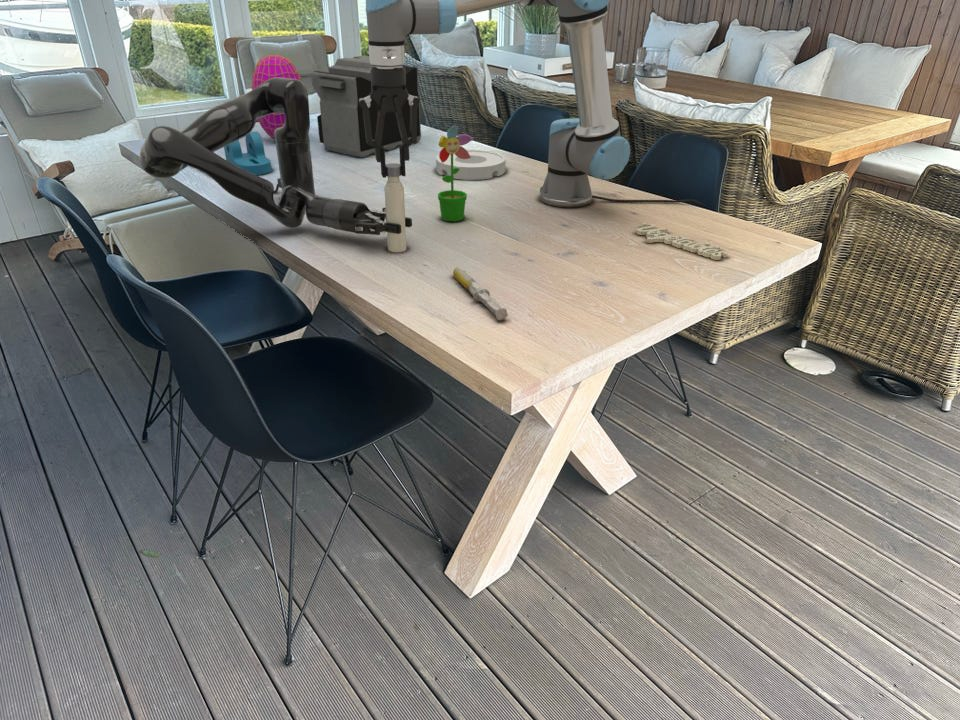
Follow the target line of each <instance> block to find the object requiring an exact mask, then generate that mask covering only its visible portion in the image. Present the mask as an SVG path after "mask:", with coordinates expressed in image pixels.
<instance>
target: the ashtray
mask: <svg viewBox="0 0 960 720" xmlns="http://www.w3.org/2000/svg"><path fill="white" fill-rule="evenodd" d="M466 150H467V151H468V153H469V155H470V156H471V158H469V159H460V158H458V157H457V156H456V155H455V154H453V169H455V168H459V171H458V172H457V173H456V174H453V180H454V179H456V180H465V181H480V180H488V179H492V178H493V177H500V176H503V174H505V173H506V159H507V158H506V157H505V155H503V154H502V153H498V152H495V151H492V150H484V149H466ZM435 163H436V164H435V168H436V169H435V170H436V173H437V174H438V175H440V176H446V175H450V176H451V154H450V155H449V157H448V159H447V160H446V161H445V162H443V163H442V162H441V160H440V157H439V154H437V155H436V157H435Z"/></svg>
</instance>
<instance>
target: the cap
mask: <svg viewBox="0 0 960 720" xmlns="http://www.w3.org/2000/svg"><path fill="white" fill-rule="evenodd" d="M385 164H386V177H387V178H388V177H398V176H399V177H402V170H401V164H400V163H394V162H391V163H385Z"/></svg>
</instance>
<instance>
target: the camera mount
mask: <svg viewBox="0 0 960 720" xmlns="http://www.w3.org/2000/svg"><path fill="white" fill-rule="evenodd" d="M244 138H245V146H246V152H243V151H242V150H243V149H242V146H241V142H240V139H239V140H238V141H236V142H234V143H231V144H229V145H227V146H225V147H223V149H224V150H223V151H224V156H225V160H226V161H228V162H230V163H232V164H233V165H235V166H237V167H239V168H241V169H243V170H245V171H248V172H250V173H252V174H255V175H257V176H260V175H265V174H268V173H271V172H272V164H271V159H270V158H268V157H267V156H266V153H265V145H264V141H263V139H262V136H261V134H260V132H258V131H251V132H250V133H249V134H248V135H247V136H245V137H244Z"/></svg>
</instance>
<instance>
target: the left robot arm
mask: <svg viewBox="0 0 960 720" xmlns="http://www.w3.org/2000/svg"><path fill="white" fill-rule="evenodd" d="M301 81H302V80H301ZM301 81H299V80H297V79H289V78H280V77H275V78H271V79H269V80H267V81H265V82H264V83H262V84H261V85H259V86H258V87H256V88H255V89H253V90H252V89H251V90H250V91H248V92H246V93H244V94H243V93H242V94H241V95H239V96H236V97H233V98H232V99H229V100H227V101H224V102H222V103H219V104H217V105H215V106H213V107H212V108H210V109H208V110H206V111H205V112H204V113H202V114H201V115H200V116H198V117H197V118H196V119H195V120H193V122H192V123H191V124H189V125H188V126H187V127H185V129H183V130H182V131H180V130H178V129H176V128H174V127H170V126H166V125H159V126H155V127H153V128H152V129H151V130H150V131H149V132H148V135H146V136H147V137H146V138H145V140H144V142H143V144H142V146H141V148H140V151H139V163H140V166H141V168H142V169H143V171H145V173H146V174H148V175H149V176H152V177H154V178H159V179H168V178H171V177H172V178H173V177H175V176H177V175H178V174H180V172H182V171H184V170H185V169H186V168H188V167H192V168H194V169H197V170H198V171H201V172H203V173H204V174H206V175H207V176H208V177H210V178H211V179H212V180H213V181H214V182H215V183H217V184H218V186H220V187H221V188H222V189H223V190H224V191H225V192H227V193H228V194H229V195H231V196H233V197H235V198H236V199H238V200H240V201H243V202H245V203H247V204H250V205H252V206H255V207H257V208H259V209H261V210H262V211H263V212H265V213H267V214H268V215H269V216H271V217H272V218H273V219H274V220H275V221H277V222H278V223H280V225H282V226H284V227H287V228H289V229H290V228H291V229H295V228H299V227H301V225H302V224H303V221H304V219H305V216H306V219H307V221H308V222H309V223H310V224H313V225H315V226H321V227H325V228H326V227H327V228H331V229H334V230H337V231H343V232H347V233H348V232H349V233H353V234H358V235H370V236H371V235H373V236H380V235H381V234H387V232H390V233H395V234H400V233H401V225H400V224H395V223H389V222H386V206H385V207H382V210H381V211H380V210H378V209H372V210H370V209H369V206H367V204H366V203H364V202H360V201H353V200H347V199H341V198H330V197H329V198H328V197H323V196H319V195H316V189H315V188H316V187H315V179H314V178H315V177H314V172H313V171H314V170H313V162H312V153H311V152H312V151H311V144H310V136H309V134H310V133H309V132H310V128H311V118H310V101H309V95H308V90H307V88H306V85H305V84H304V83H303V81H302V82H301ZM273 113H282V114H285V124H284V126H281V127H278V128H276V129H275V131H274V134H275V139H274V141H275V149H276V155H277V162H278V170H279V178H277V179H276V180H277V183H276V187H275V186H274V184H273V182H271V181H270V180H268V179H266V178H264V177H261V176H260V175H255V174H252V173H250V172H248V171H245V170H243V169H241V168H239V167H237V166H235V165H233V164H232V163H230V162H228V161H226V158H223V157H222V156H220V155H219V154H217V153H216V152H217V151H219V150H221V149H224V147H225V146H227V145H229V144H231V143H234V142H236V141H238V140H239V141H240V140H241V139H243V138H245V137H246V136H247V135H248V134H249V133H250V132H253V130H254V128H255V126H256V123H257V122H258V119H260V118H262V117H264V116H266V115H269V114H273ZM279 188H280V189H281V193H280V197H279V200H278V203H276V202H275V199H274V198H275V197H274V194H276V193H278V191H279ZM405 226H406V228H411V227H412V226H413V219H412V218H411V217H407V216H405Z"/></svg>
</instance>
